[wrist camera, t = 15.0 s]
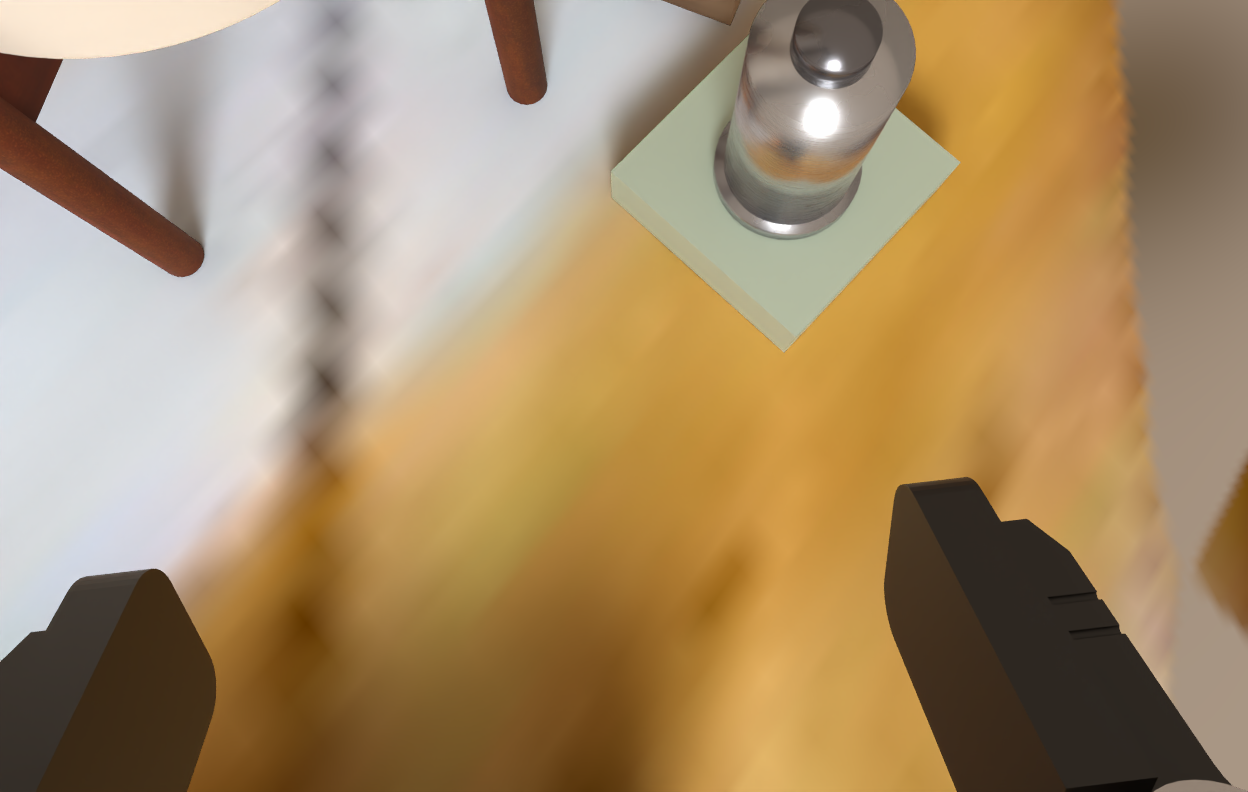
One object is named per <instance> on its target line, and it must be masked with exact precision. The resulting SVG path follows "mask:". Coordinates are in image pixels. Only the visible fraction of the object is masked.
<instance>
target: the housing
mask: <svg viewBox="0 0 1248 792" xmlns="http://www.w3.org/2000/svg"><path fill="white" fill-rule="evenodd" d="M915 60H916V47H915V39H914V36H913V32H912V29H911V26H910V24H909V21H908V19H907V18H906V16H905V14H904V13H903V11H902V10H901V8H900V7H899V6H898V4H897V3H896V2H895V1H894V0H767V1H766V2H765V3H764V4H763V6H762V7H761V9H760V10H759V11H758V13H757V15H756V17H755V19H754V21H753V24H752V26H751V29H750V33H749V38H748V43H747V48H746V53H745V57H744V62H743V67H742V72H741V77H740V82H739V86H738V91H737V96H736V101H735V106H734V110H733V115H732V119H731V120H730V121H729V123H728V124H727V125H726V127H725V128H724V130H723V132H722V134H721V136H720V138H719V141H718V144H717V147H716V152H715V157H714V164H713V177H714V183H715V188H716V191H717V194H718V196H719V199H720V200H721V202H722V204H723V206H724V207H725V209H726V210H727V212H728V213H729V214H730V215H731V216H732V217H733V218H734V219H735V220H736V221H737V222H738V223H739V224H741V225H742V226H743V227H745V228H746V229H748V230H750V231H752V232H754V233H756V234H758V235H761V236H764V237H767V238H771V239H777V240H797V239H802V238H807V237H810V236H813V235H816V234H818V233H820V232H822V231H824V230H825V229H827V228H829V227H830V226H832V225H833V224H834V223H835V222H836V221H837V220H838V219H839V218H840V217H841V216H842V215H843V214H844V213H845V211H846V210H847V208H848V207H849V205H850V204H851V202H852V200H853V199H854V197H855V195H856V193H857V191H858V188H859V184H860V181H861V176H862V164H863V163H864V161H865V159H866V158H867V156H868V154H869V152H870V151H871V149H872V147H873V145H874V144H875V142H876V140H877V139H878V137H879V135H880V133H881V132H882V130H883V128H884V126H885V125H886V123H887V121H888V120H889V118H890V116H891V114H892V113H893V111H894V109H895V107H896V106H897V104H898V102H899V100H900V99H901V97H902V95H903V94H904V92H905V90H906V88H907V86H908V84H909V82H910V80H911V77H912V74H913V71H914V66H915Z"/></svg>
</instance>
